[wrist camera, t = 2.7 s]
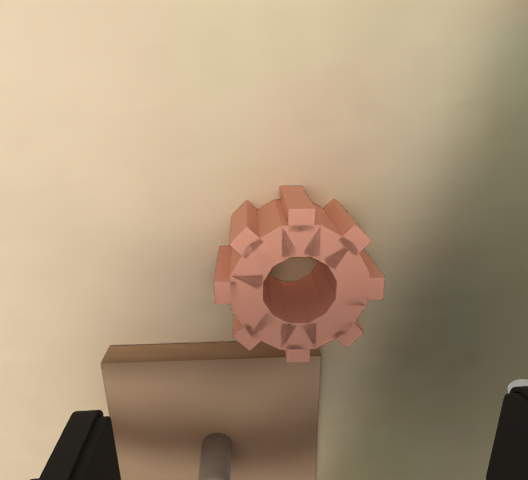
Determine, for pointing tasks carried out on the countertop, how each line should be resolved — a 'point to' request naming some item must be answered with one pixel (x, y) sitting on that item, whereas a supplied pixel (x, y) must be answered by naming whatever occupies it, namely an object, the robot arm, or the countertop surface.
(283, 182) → the countertop surface
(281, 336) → the pink gear
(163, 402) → the gear board
